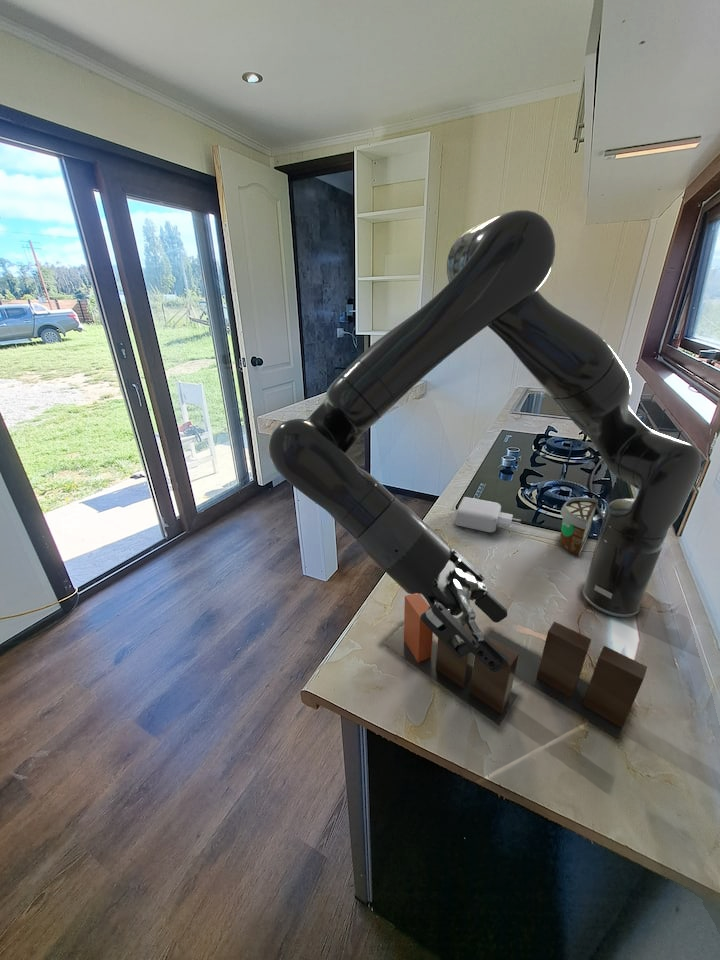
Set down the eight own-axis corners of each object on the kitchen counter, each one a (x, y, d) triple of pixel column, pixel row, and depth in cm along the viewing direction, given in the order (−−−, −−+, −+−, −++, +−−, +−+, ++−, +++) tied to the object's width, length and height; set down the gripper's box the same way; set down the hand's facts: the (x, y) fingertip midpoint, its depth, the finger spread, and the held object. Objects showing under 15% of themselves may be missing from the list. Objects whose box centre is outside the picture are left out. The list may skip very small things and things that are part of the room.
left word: (404, 624, 70) (405, 580, 66) (517, 696, 57) (527, 647, 52) (383, 644, 66) (382, 599, 62) (498, 727, 53) (508, 677, 49)
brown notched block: (491, 630, 68) (498, 586, 64) (628, 707, 55) (650, 657, 50) (474, 652, 64) (481, 605, 60) (618, 740, 51) (640, 689, 47)
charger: (516, 540, 92) (455, 526, 99) (521, 521, 100) (463, 510, 106) (519, 523, 90) (456, 510, 96) (523, 505, 98) (464, 495, 104)
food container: (561, 526, 97) (570, 491, 93) (589, 534, 93) (598, 498, 89) (547, 549, 89) (555, 512, 84) (576, 559, 85) (586, 521, 81)
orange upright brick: (416, 635, 67) (418, 591, 63) (431, 657, 63) (434, 612, 59) (403, 639, 67) (404, 595, 62) (417, 662, 62) (420, 617, 58)
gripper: (410, 554, 38) (531, 671, 37) (433, 503, 51) (524, 589, 50) (364, 594, 41) (474, 702, 40) (397, 537, 54) (481, 618, 53)
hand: (502, 640), depth 45 cm, fingers open, 8 cm apart
